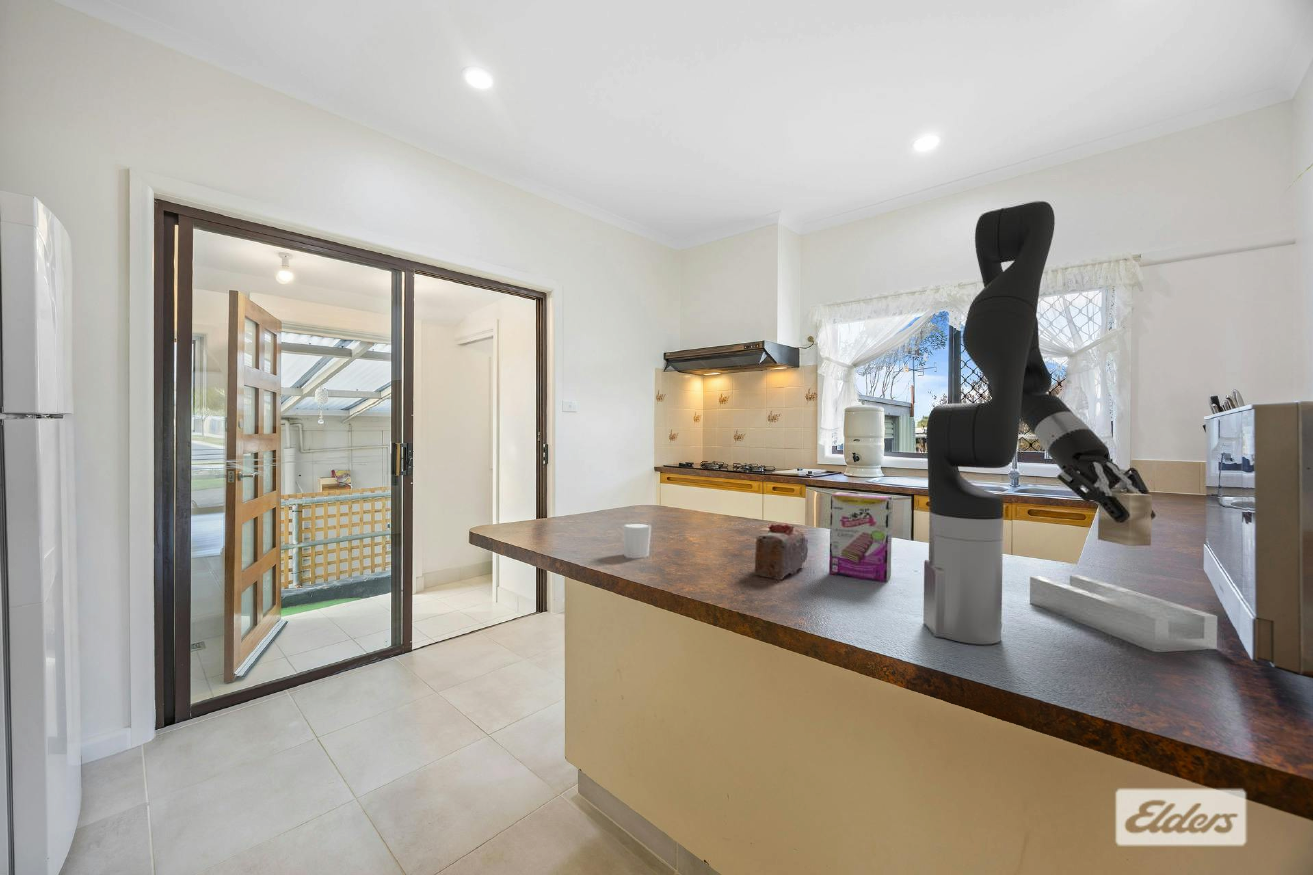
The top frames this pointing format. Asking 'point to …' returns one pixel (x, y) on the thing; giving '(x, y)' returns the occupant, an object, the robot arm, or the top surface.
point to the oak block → (1128, 521)
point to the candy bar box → (861, 536)
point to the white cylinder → (636, 540)
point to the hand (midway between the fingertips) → (1136, 519)
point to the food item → (780, 552)
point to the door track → (1127, 614)
